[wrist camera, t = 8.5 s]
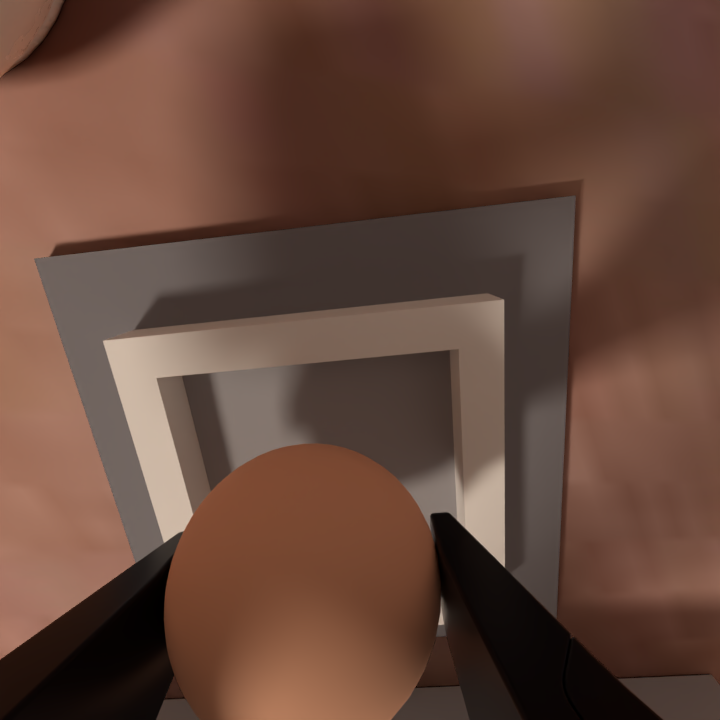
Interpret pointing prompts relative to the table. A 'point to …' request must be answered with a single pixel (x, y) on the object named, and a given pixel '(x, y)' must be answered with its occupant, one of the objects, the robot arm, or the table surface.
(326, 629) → the ball
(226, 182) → the table surface
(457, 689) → the gray fence
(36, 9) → the lidded bowl
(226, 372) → the mat
